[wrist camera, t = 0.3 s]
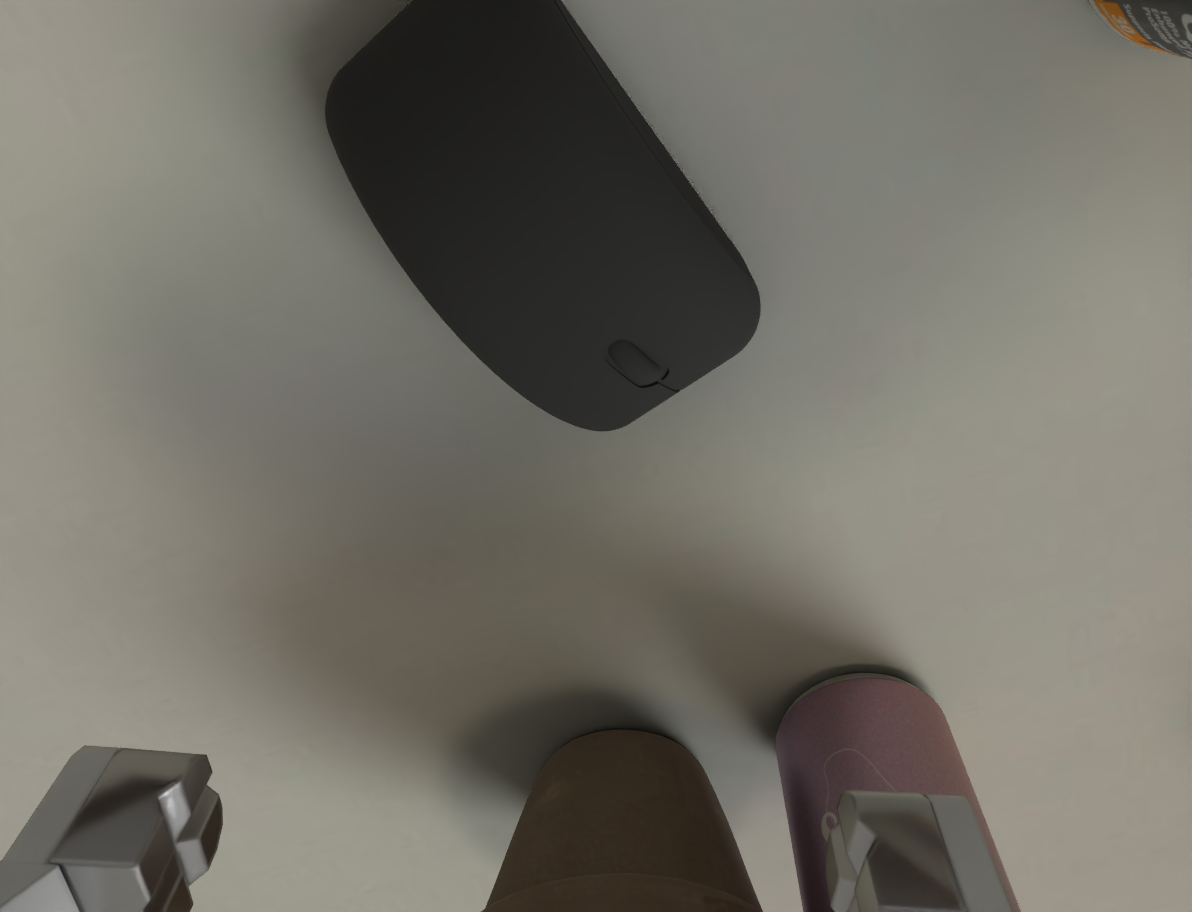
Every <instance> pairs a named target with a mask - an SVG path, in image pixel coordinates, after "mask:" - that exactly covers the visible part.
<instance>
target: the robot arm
mask: <svg viewBox="0 0 1192 912" xmlns="http://www.w3.org/2000/svg"><path fill="white" fill-rule="evenodd" d="M211 774H212V769H211V766H210V763H209V760H208V757H207V755H203V754H191V753H179V752H166V751H154V750H142V749H130V748H118V747H102V746H86V745H85V746H83V747H82V748H81V749H80V750H78V751H77V752H76V753H75V754H73V755H72V756H71V757H70V759H69V760H68V762H67V763H66V765H65V766H64V768H63V769H62V771H61V772H60V774H59V775H58V777H57V778H56V780H55V781H54V783H53V784H52V786H51V787H50V789H49V790H48V792H47V793H46V795H45V796H44V798H43V799H42V801H41V802H40V804H39V805H38V807H37V808H36V810H35V811H34V813H33V814H32V816H31V817H30V819H29V820H28V822H27V823H26V825H25V826H24V828H23V829H22V831H21V832H20V834H19V835H18V837H17V838H16V840H15V841H14V843H13V844H12V846H11V847H10V849H9V850H8V852H7V853H6V855H5V856H4V858H3V859H2V861H0V912H190V910H191V908H192V906H193V901H192V897H191V893H190V890H189V885H191V884H192V883H193V882H194V881H196V880H197V879H198V878H199V877H200V876H202V875H203V874H204V873H205V872H207V871H208V870H209V867H210V865H211V863H212V860H213V858H214V855H215V853H216V851H217V848H218V844H219V839H220V834H221V830H222V825H223V815H222V804H221V800H220V796H219V794H218V793H216V792H215V791H214V790H213V789H211V788H210V787H209V786H208V785H206V784H207V782H208V780H209V778H210V776H211ZM837 812H838V816H839V821H840V824H838V825H837V826H835V827H834V828H832V829H831V830H830V833H829V837H828V842H827V846H826V863H825V871H826V881H827V889H828V895H829V900H830V906H831V908H832V909H833V910H834V911H835V912H1012V909H1011V906H1010V904H1009V901H1008V899H1007V896H1006V893H1005V891H1004V888H1003V886H1002V883H1001V880H1000V878H999V875H998V872H997V870H996V867H995V865H994V862H993V859H992V857H991V854H990V851H989V849H988V846H987V844H986V841H985V838H984V836H983V833H982V830H981V828H980V825H979V823H978V820H977V817H976V815H975V812H974V810H973V807H972V804H971V803H970V802H969V801H968V800H967V799H966V797H964V796H953V795H931V794H921V793H913V792H889V791H865V790H845V791H844V792H843V793H842V794H841V795H840V798H839V802H838V805H837Z"/></svg>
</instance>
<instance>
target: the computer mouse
mask: <svg viewBox="0 0 1192 912" xmlns="http://www.w3.org/2000/svg"><path fill="white" fill-rule="evenodd" d="M325 116H326V124H327V129H328V132H329V135H330V138H331V140H332V143H333V145H334V148H335V150H336V153H337V155H338V158H339V160H340V162H341V164H342V166H343V168H344V170H345V172H346V175H347V177H348V179H349V181H350V183H351V185H352V187H353V188H354V190H355V192H356V194H357V196H358V198H359V200H360V202H361V203H362V205H363V207H364V209H365V210H366V212H367V214H368V215H369V217H370V219H371V221H372V222H373V224H374V226H375V227H376V229H377V231H378V232H379V234H380V235H381V237H382V238H383V240H384V242H385V243H386V245H387V246H388V248H389V249H390V251H391V252H392V254H393V255H394V257H395V258H396V259H397V261H398V262H399V264H400V265H401V267H402V268H403V269H404V271H405V272H406V273H407V275H408V276H409V278H410V279H411V280H412V282H413V283H414V284H415V286H416V287H417V288H418V289H419V291H420V292H421V293H422V295H423V296H424V297H425V299H426V300H427V301H428V302H429V304H430V305H431V306H432V307H433V308H434V310H435V311H436V312H437V313H438V314H439V316H440V317H441V318H442V319H443V320H444V322H445V323H446V324H447V325H448V326H449V327H450V328H451V329H452V330H453V332H454V333H455V334H456V335H457V336H458V337H459V338H460V339H461V340H462V341H463V343H464V344H465V345H466V346H467V347H468V348H469V349H470V350H471V351H472V352H473V353H474V354H475V355H476V356H477V357H478V358H479V359H480V360H481V361H482V362H483V363H484V364H486V365H487V366H488V367H489V368H490V369H491V370H492V371H493V372H494V373H495V374H496V375H497V376H499V377H500V378H501V379H502V380H503V381H504V382H506V383H507V384H508V385H509V386H510V387H512V388H513V389H514V390H515V391H517V392H518V393H519V394H520V395H522V396H523V397H525V398H526V399H527V400H529V401H530V402H532V403H533V404H535V405H536V406H538V407H539V408H541V409H543V410H544V411H546V412H548V413H549V414H551V415H553V416H555V417H557V418H559V419H561V420H563V421H565V422H567V423H570V424H572V425H575V426H578V427H581V428H584V429H588V430H593V431H611V430H615V429H619V428H622V427H624V426H626V425H628V424H630V423H631V422H633V421H634V420H636V419H637V418H639V417H640V416H642V415H644V414H645V413H647V412H648V411H650V410H651V409H653V408H654V407H656V406H658V405H659V404H661V403H662V402H664V401H665V400H667V399H668V398H670V397H671V396H673V395H675V394H676V393H678V392H679V391H680V390H682V389H684V388H685V387H687V386H688V385H690V384H692V383H693V382H695V381H696V380H698V379H699V378H701V377H702V376H704V375H705V374H707V373H709V372H710V371H712V370H713V369H715V368H716V367H718V366H719V365H721V364H722V363H724V362H726V361H727V360H729V359H730V358H732V357H733V356H735V355H736V354H738V353H739V352H740V351H741V350H742V349H743V348H744V347H745V346H746V345H747V344H748V342H749V341H750V340H751V338H752V336H753V335H754V333H755V331H756V328H757V325H758V322H759V317H760V296H759V292H758V289H757V286H756V284H755V282H754V280H753V278H752V276H751V274H750V272H749V270H748V268H747V266H746V264H745V262H744V260H743V258H742V256H741V255H740V253H739V252H738V250H737V249H736V248H735V246H734V245H733V243H732V242H731V241H730V239H729V238H728V237H727V235H726V234H725V232H724V231H723V230H722V228H721V227H720V225H719V224H718V222H717V221H716V220H715V218H714V217H713V215H712V214H711V213H710V211H709V210H708V208H707V207H706V205H705V204H704V203H703V201H702V200H701V198H700V197H699V196H698V194H697V193H696V191H695V190H694V188H693V187H692V186H691V184H690V183H689V181H688V180H687V179H686V177H685V176H684V174H683V173H682V171H681V170H680V169H679V167H678V166H677V164H676V163H675V162H674V160H673V159H672V157H671V156H670V154H669V153H668V152H667V150H666V149H665V147H664V146H663V145H662V143H661V142H660V140H659V139H658V137H657V136H656V135H655V133H654V132H653V130H652V129H651V128H650V126H649V125H648V123H647V122H646V120H645V119H644V118H643V116H642V115H641V113H640V112H639V111H638V109H637V108H636V106H635V105H634V103H633V102H632V101H631V99H630V98H629V96H628V95H627V94H626V92H625V91H624V89H623V88H622V86H621V85H620V84H619V82H618V81H617V79H616V78H615V77H614V75H613V74H612V72H611V71H610V70H609V68H608V67H607V65H606V64H605V62H604V61H603V60H602V58H601V57H600V55H599V54H598V53H597V51H596V50H595V48H594V47H593V45H592V44H591V43H590V41H589V40H588V38H587V37H586V36H585V34H584V33H583V31H582V30H581V28H580V27H579V26H578V24H577V23H576V21H575V20H574V19H573V17H572V16H571V14H570V13H569V11H568V10H567V9H566V7H565V6H564V4H563V3H562V2H561V0H413V1H412V2H411V3H410V4H409V5H408V6H407V7H406V8H405V9H404V10H403V11H401V12H400V13H399V14H398V15H397V16H396V17H395V18H394V19H393V20H392V21H391V22H390V23H389V24H388V25H387V26H386V27H385V28H384V29H382V30H381V31H380V32H379V33H378V34H377V35H376V36H375V37H374V38H373V39H372V40H371V41H370V42H369V43H368V44H367V45H366V46H365V47H364V48H362V49H361V50H360V51H359V52H358V53H357V54H356V55H355V56H354V57H353V58H352V59H351V60H350V61H349V62H348V63H347V64H346V65H345V66H343V67H342V69H341V70H340V71H339V72H338V73H337V75H336V76H335V78H334V79H333V81H332V83H331V86H330V88H329V91H328V94H327V98H326V106H325Z"/></svg>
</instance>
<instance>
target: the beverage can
mask: <svg viewBox="0 0 1192 912" xmlns="http://www.w3.org/2000/svg"><path fill="white" fill-rule="evenodd" d="M775 747H776V754H777V760H778V766H779V771H780V777H781V783H782V789H783V795H784V801H785V807H786V812H787V818H788V824H789V830H790V836H791V842H792V848H793V854H794V859H795V865H796V871H797V877H798V883H799V889H800V895H801V900H802V906H803V912H835V911H834V910H833V909H832V908H831V906H830V900H829V895H828V889H827V881H826V871H825V863H826V846H827V842H828V837H829V833H830V830H831V829H832V828H834V827H835V826H837V825H838V824H840V821H839V816H838V812H837V805H838V802H839V798H840V795H841V794H842V793H843V792H844V791H845V790H865V791H889V792H913V793H921V794H931V795H953V796H964V797H966V799H967V800H968V801H969V802H970V803H971V804H972V807H973V810H974V812H975V815H976V817H977V820H978V823H979V825H980V828H981V830H982V833H983V836H984V838H985V841H986V844H987V846H988V849H989V851H990V854H991V857H992V859H993V862H994V865H995V867H996V870H997V872H998V875H999V878H1000V880H1001V883H1002V886H1003V888H1004V891H1005V893H1006V896H1007V899H1008V901H1009V904H1010V906H1011V909H1012V912H1021V910H1020V908H1019V905H1018V903H1017V900H1016V898H1015V895H1014V892H1013V890H1012V887H1011V885H1010V882H1009V880H1008V877H1007V874H1006V872H1005V869H1004V867H1003V864H1002V862H1001V859H1000V856H999V854H998V851H997V849H996V846H995V843H994V841H993V838H992V836H991V833H990V831H989V828H988V825H987V823H986V820H985V818H984V815H983V813H982V810H981V807H980V805H979V802H978V800H977V797H976V795H975V792H974V789H973V787H972V784H971V782H970V779H969V776H968V774H967V771H966V769H965V766H964V764H963V761H962V758H961V756H960V753H959V751H958V748H957V746H956V743H955V740H954V738H953V735H952V733H951V730H950V728H949V725H948V722H947V720H946V717H945V715H944V713H943V711H942V709H941V708H940V707H939V705H938V704H937V703H936V702H935V701H934V700H933V699H932V698H931V697H930V696H928V695H927V694H926V693H924V692H923V691H921V690H920V689H918V688H917V687H915V686H913V685H912V684H910V683H908V682H906V681H904V680H901V679H899V678H896V677H893V676H889V675H884V674H878V673H853V674H846V675H841V676H837V677H834V678H831V679H828V680H825V681H823V682H821V683H819V684H817V685H815V686H813V687H811V688H810V689H808V690H807V691H805V692H804V693H803V694H802V695H800V696H799V697H798V698H797V699H796V700H795V701H794V703H793V704H792V705H791V706H790V708H789V709H788V711H787V712H786V714H785V716H784V718H783V720H782V722H781V723H780V726H779V728H778V731H777V734H776V741H775Z"/></svg>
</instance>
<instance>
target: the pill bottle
mask: <svg viewBox="0 0 1192 912" xmlns="http://www.w3.org/2000/svg"><path fill="white" fill-rule="evenodd" d="M1088 1H1089V3H1090V4H1091V6H1092V8H1093V9H1094V11H1095V12H1096V13H1097V15H1098V16H1099V17H1100V18H1101V19H1102V20H1103V21H1104V23H1105V24H1106V25H1107V26H1108V27H1110V28H1111V29H1112V30H1113V31H1114V32H1115V33H1117V34H1118V35H1120V36H1122V37H1123V38H1125V39H1127V40H1129V41H1131V42H1133V43H1135V44H1138V45H1140V46H1143V47H1146V48H1149V49H1153V50H1156V51H1159V52H1163V53H1168V54H1172V55H1177V56H1181V57H1185V58H1189V59H1192V0H1088Z"/></svg>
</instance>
